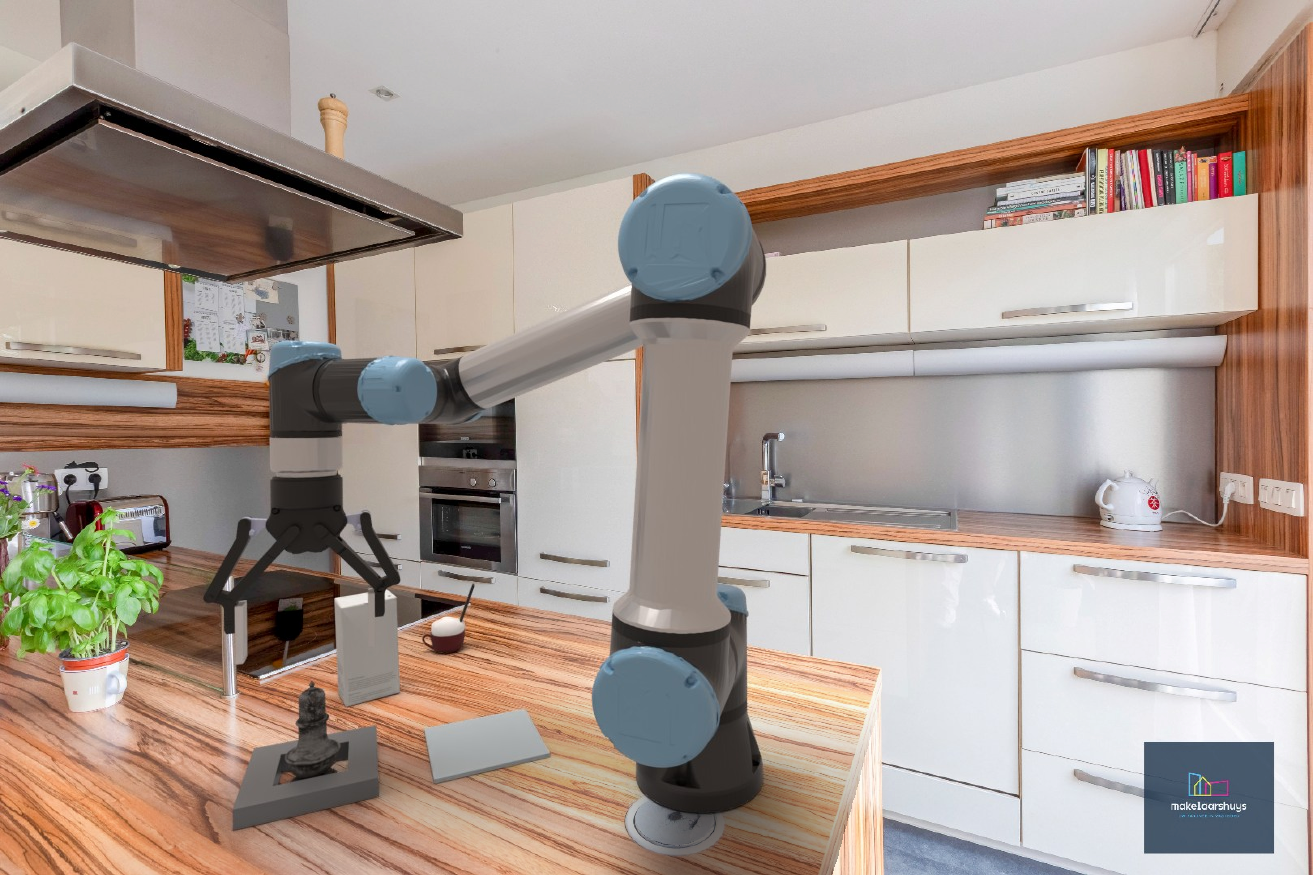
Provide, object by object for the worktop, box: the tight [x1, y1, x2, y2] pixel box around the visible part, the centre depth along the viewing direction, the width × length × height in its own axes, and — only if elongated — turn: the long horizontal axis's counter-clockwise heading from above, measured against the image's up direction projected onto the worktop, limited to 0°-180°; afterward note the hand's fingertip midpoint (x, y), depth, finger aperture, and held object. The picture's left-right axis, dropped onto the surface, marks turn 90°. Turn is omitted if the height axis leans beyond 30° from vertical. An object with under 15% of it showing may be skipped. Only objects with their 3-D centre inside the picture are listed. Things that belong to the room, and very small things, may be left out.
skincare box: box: [334, 588, 401, 708], centre depth 100 cm, size 8×7×16 cm
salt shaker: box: [285, 680, 341, 783], centre depth 75 cm, size 6×6×12 cm
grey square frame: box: [231, 724, 380, 831], centre depth 76 cm, size 14×14×2 cm
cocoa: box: [421, 583, 475, 654], centre depth 119 cm, size 10×6×12 cm, turn 85°
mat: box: [423, 708, 551, 785], centre depth 84 cm, size 14×14×1 cm
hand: (309, 651), depth 75 cm, fingers open, 13 cm apart
